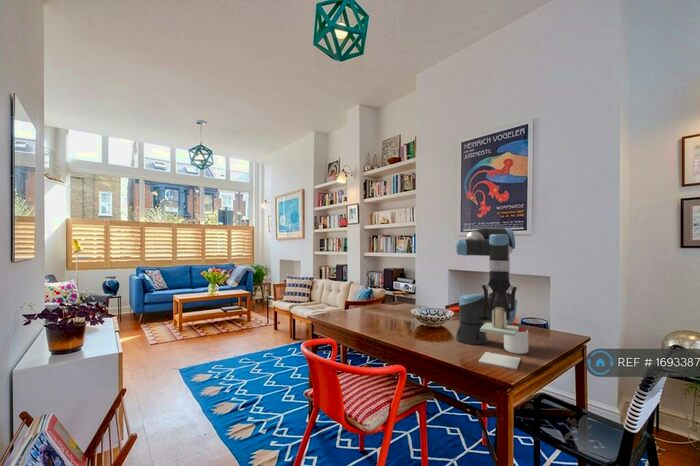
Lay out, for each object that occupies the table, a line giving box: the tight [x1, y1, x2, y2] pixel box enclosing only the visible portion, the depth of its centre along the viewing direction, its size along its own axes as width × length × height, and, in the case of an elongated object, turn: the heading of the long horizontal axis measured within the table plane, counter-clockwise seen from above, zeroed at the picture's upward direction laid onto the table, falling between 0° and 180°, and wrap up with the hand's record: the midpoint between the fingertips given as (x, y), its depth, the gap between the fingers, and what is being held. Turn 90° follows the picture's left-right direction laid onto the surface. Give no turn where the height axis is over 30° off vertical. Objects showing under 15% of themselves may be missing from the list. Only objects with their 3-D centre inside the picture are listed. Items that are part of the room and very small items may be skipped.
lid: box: [480, 307, 520, 336], centre depth 136 cm, size 13×13×9 cm
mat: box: [478, 351, 522, 371], centre depth 136 cm, size 14×14×1 cm
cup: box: [503, 327, 529, 355], centre depth 149 cm, size 10×10×10 cm
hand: (499, 326), depth 136 cm, fingers closed on lid, 4 cm apart
